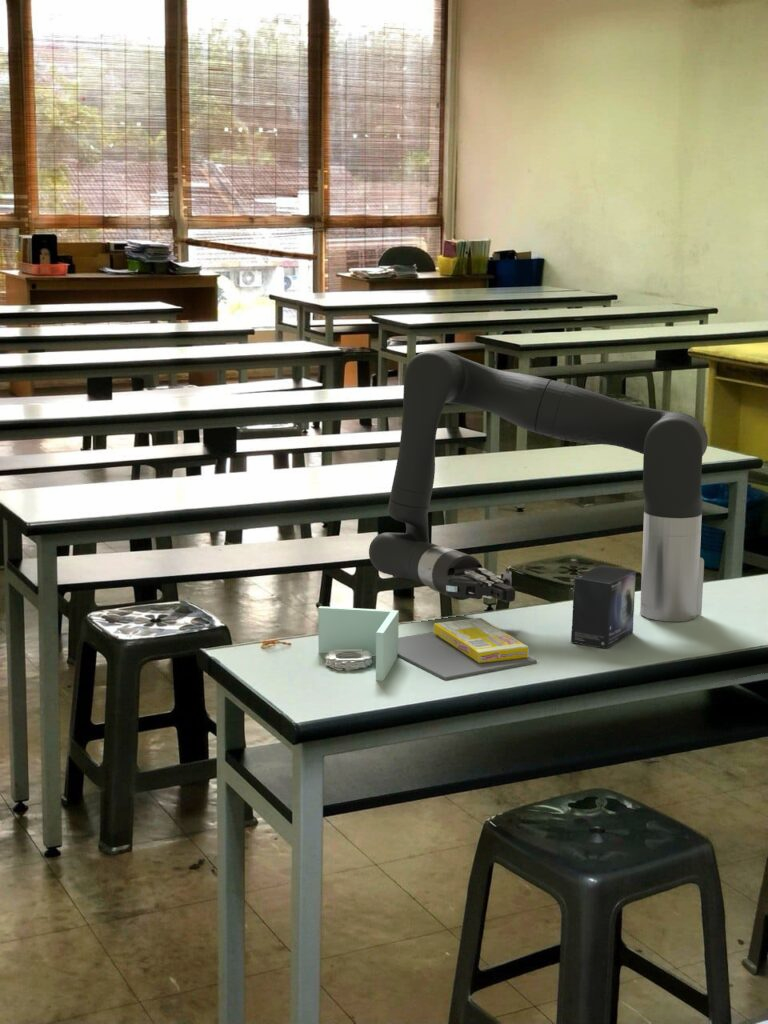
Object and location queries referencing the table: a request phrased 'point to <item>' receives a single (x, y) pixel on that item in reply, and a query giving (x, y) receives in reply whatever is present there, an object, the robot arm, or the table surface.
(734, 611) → the table surface
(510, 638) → the candy box
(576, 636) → the small box
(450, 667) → the mat
